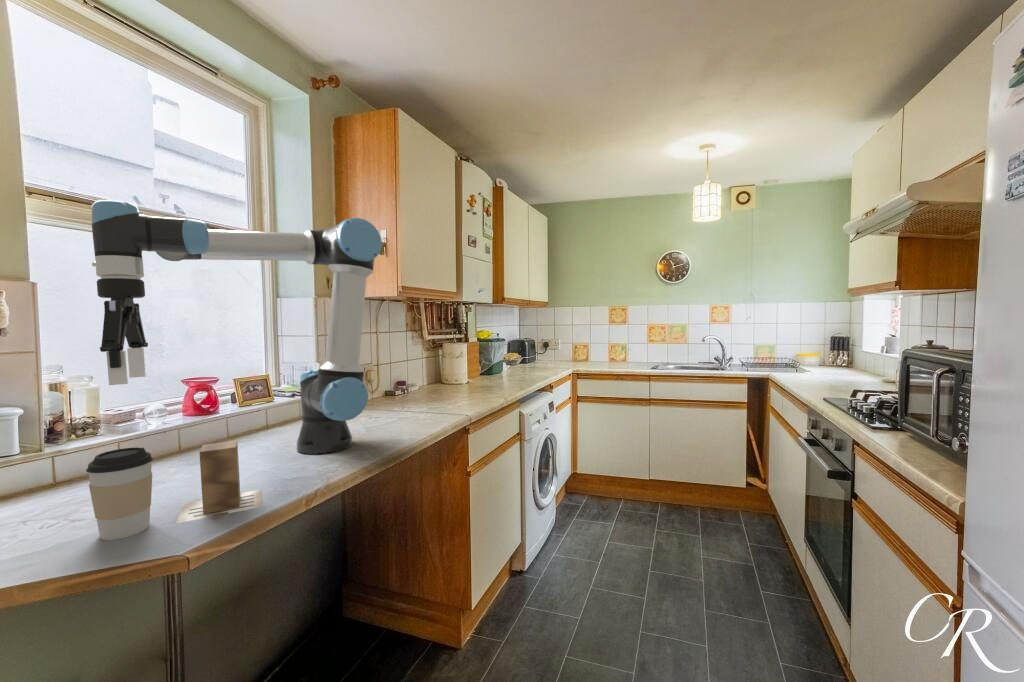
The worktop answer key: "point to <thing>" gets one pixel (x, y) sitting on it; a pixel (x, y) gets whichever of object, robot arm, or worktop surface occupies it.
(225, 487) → the walnut block
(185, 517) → the cream flat slotted plate
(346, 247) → the robot arm
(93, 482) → the coffee cup
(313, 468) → the worktop surface
